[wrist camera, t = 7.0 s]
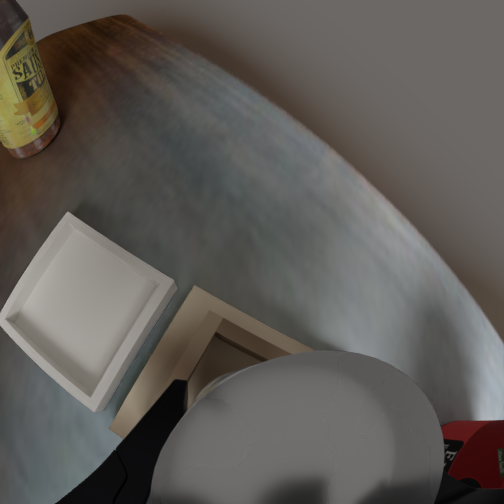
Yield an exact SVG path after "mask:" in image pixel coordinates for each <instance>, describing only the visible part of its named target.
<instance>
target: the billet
mask: <svg viewBox="0 0 504 504" xmlns="http://www.w3.org/2000/svg"><path fill="white" fill-rule="evenodd" d="M443 467H444V442H443V434H442V430H441V426H440V423H439V420H438V417H437V415H436V412H435V410H434V408H433V406H432V404H431V403H430V401H429V399H428V398H427V396H426V395H425V394H424V392H423V391H422V390H421V389H420V388H419V386H418V385H417V384H416V383H415V382H414V381H413V380H411V379H410V378H409V377H408V376H407V375H406V374H404V373H403V372H401V371H400V370H398V369H397V368H395V367H393V366H392V365H390V364H388V363H385V362H383V361H381V360H379V359H376V358H373V357H370V356H366V355H363V354H359V353H352V352H345V351H324V350H320V351H310V352H301V353H296V354H291V355H287V356H282V357H278V358H275V359H272V360H269V361H266V362H262V363H259V364H256V365H253V366H250V367H246V368H243V369H240V370H236V371H233V372H229V373H226V374H223V375H220V376H218V377H216V378H214V379H213V380H211V381H210V382H209V383H207V384H206V385H205V386H204V388H203V389H202V390H201V392H200V393H199V394H198V396H197V397H196V399H195V400H194V402H193V403H192V404H191V406H190V407H189V409H188V410H187V411H186V413H185V414H184V416H183V417H182V418H181V420H180V421H179V422H178V424H177V425H176V427H175V428H174V429H173V431H172V432H171V434H170V435H169V437H168V439H167V441H166V443H165V444H164V446H163V448H162V450H161V452H160V455H159V458H158V460H157V463H156V466H155V469H154V474H153V479H152V485H151V504H434V501H435V499H436V496H437V494H438V490H439V487H440V483H441V480H442V474H443Z"/></svg>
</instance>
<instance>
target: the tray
mask: <svg viewBox="0 0 504 504" xmlns="http://www.w3.org/2000/svg"><path fill="white" fill-rule="evenodd" d="M176 291H177V286H176V283H175V281H174V280H173V279H171V278H170V277H168V276H166V275H165V274H163V273H161V272H160V271H158V270H157V269H155V268H153V267H152V266H150V265H148V264H147V263H145V262H144V261H142V260H140V259H139V258H137V257H136V256H134V255H132V254H131V253H129V252H128V251H126V250H125V249H123V248H122V247H120V246H118V245H117V244H115V243H114V242H112V241H111V240H109V239H108V238H106V237H105V236H103V235H102V234H100V233H99V232H97V231H96V230H94V229H93V228H91V227H90V226H88V225H87V224H85V223H84V222H82V221H81V220H79V219H78V218H76V217H75V216H73V215H72V214H71V213H69V212H67V213H66V214H65V215H64V217H63V218H62V219H61V221H60V222H59V223H58V225H57V226H56V227H55V229H54V230H53V231H52V233H51V234H50V235H49V237H48V238H47V240H46V241H45V242H44V244H43V245H42V247H41V248H40V249H39V251H38V252H37V254H36V255H35V257H34V258H33V260H32V261H31V263H30V264H29V266H28V267H27V269H26V270H25V272H24V274H23V275H22V277H21V278H20V280H19V282H18V283H17V285H16V287H15V288H14V290H13V292H12V293H11V295H10V297H9V298H8V300H7V302H6V304H5V305H4V307H3V309H2V311H1V313H0V326H1V327H2V328H3V329H4V330H5V331H6V333H7V334H8V335H9V336H10V337H11V338H12V339H13V340H14V341H15V342H16V343H17V344H18V345H19V347H20V348H21V349H22V350H23V351H24V352H25V353H26V354H27V355H28V356H29V357H30V358H31V359H32V360H33V361H34V362H35V363H36V364H38V365H39V366H40V367H41V368H42V369H43V370H44V371H45V372H46V373H47V374H48V375H49V376H50V377H52V378H53V379H54V380H55V381H56V382H57V383H58V384H60V385H61V386H62V387H63V388H64V389H65V390H67V391H68V392H69V393H70V394H71V395H73V396H74V397H75V398H76V399H78V400H79V401H80V402H81V403H83V404H84V405H85V406H86V407H88V408H89V409H90V410H92V411H93V412H94V413H95V412H99V411H103V410H105V409H106V407H107V405H108V403H109V402H110V400H111V398H112V396H113V395H114V393H115V391H116V389H117V388H118V386H119V384H120V383H121V381H122V379H123V377H124V376H125V374H126V372H127V371H128V369H129V367H130V366H131V364H132V362H133V361H134V359H135V357H136V356H137V354H138V352H139V351H140V349H141V347H142V346H143V344H144V342H145V341H146V339H147V337H148V336H149V334H150V332H151V331H152V329H153V328H154V326H155V324H156V323H157V321H158V319H159V318H160V316H161V315H162V313H163V311H164V310H165V308H166V307H167V305H168V303H169V302H170V300H171V299H172V297H173V296H174V294H175V292H176Z"/></svg>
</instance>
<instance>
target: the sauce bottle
mask: <svg viewBox="0 0 504 504" xmlns="http://www.w3.org/2000/svg"><path fill="white" fill-rule="evenodd" d="M59 127H60V119H59V115H58V108H57V105H56V102H55V100H54V97H53V94H52V91H51V89H50V86H49V83H48V80H47V77H46V74H45V71H44V68H43V65H42V62H41V59H40V55H39V52H38V48H37V46H36V42H35V39H34V35H33V31H32V27H31V23H30V20H29V17H28V15H27V14H26V13H25V12H24V11H23V9H22V8H21V7H20V5H19V4H18V3H17V2H16V0H0V140H1V142H2V144H3V145H4V147H6V148H7V149H8V150H9V152H10V153H11V155H12V156H14V157H15V158H19V159H23V158H28V157H30V156H33V155H35V154H37V153H39V152H40V151H42V150H43V149H44V148H45V147H46V146H47V145H48V144H49V143H50V142H51V141H52V140H53V139H54V137H55V136H56V134H57V132H58V131H59Z"/></svg>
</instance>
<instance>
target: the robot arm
mask: <svg viewBox="0 0 504 504" xmlns="http://www.w3.org/2000/svg"><path fill="white" fill-rule="evenodd" d="M187 409H188V381H187V380H182V379H174V380H173V381H172V382H171V384H170V385H169V386H168V387H167V388H166V390H165V391H164V392H163V393H162V394H161V396H160V397H159V398H158V399H157V400H156V402H155V403H154V404H153V405H152V406H151V407H150V409H149V410H148V411H147V412H146V413H145V415H144V416H143V417H142V418H141V419H140V420H139V422H138V423H137V424H136V425H135V426H134V428H133V429H132V430H131V431H130V432H129V433H128V435H127V436H126V437H125V438H124V439H123V440H122V442H121V443H120V444H119V445H118V446H117V447H116V450H114V451H113V452H112V453H111V454H110V455H109V457H108V458H107V459H106V460H105V461H104V462H103V463H102V464H101V465H100V466H99V467H98V468H97V469H96V470H95V471H94V472H93V473H92V474H91V475H90V476H89V477H87V478H86V479H85V480H84V481H83V482H82V483H80V484H79V485H78V486H77V487H76V488H74V489H73V490H72V491H71V492H69V493H68V494H67V495H66V496H64V497H63V498H62V499H61V500H59V501H58V502H57V503H55V504H151V485H152V479H153V474H154V469H155V466H156V463H157V460H158V458H159V455H160V452H161V450H162V448H163V446H164V444H165V443H166V441H167V439H168V437H169V435H170V434H171V432H172V431H173V429H174V428H175V427H176V425H177V424H178V422H179V421H180V420H181V418H182V417H183V416H184V414H185V413H186V411H187ZM434 504H504V489H478V488H473V487H470V486H467V485H465V484H463V483H462V482H460V481H458V480H457V479H455V478H454V477H452V476H451V475H449V474H447V473H446V472H444V471H443V474H442V480H441V483H440V487H439V490H438V494H437V496H436V499H435V501H434Z"/></svg>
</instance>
